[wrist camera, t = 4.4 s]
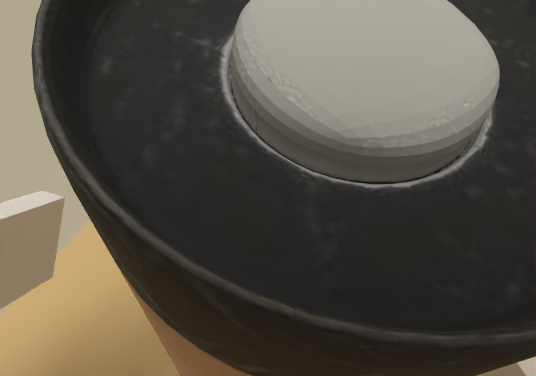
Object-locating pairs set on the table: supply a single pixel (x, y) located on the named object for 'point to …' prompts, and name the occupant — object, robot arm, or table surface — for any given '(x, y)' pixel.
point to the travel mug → (307, 176)
